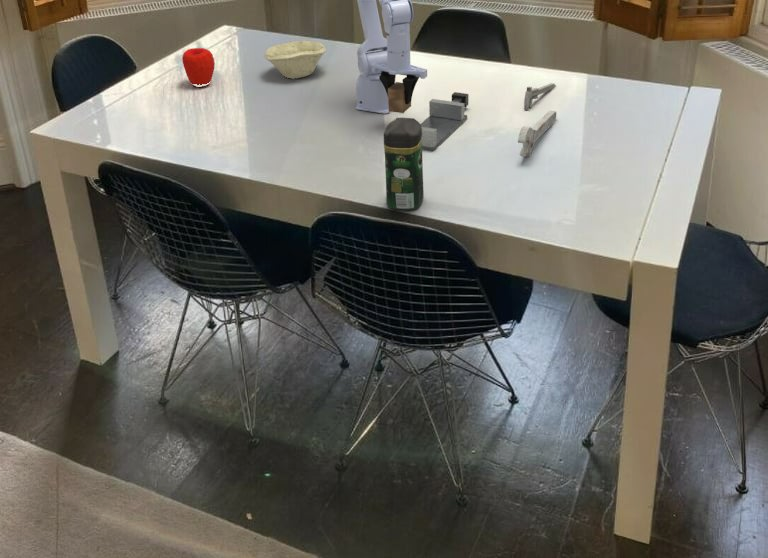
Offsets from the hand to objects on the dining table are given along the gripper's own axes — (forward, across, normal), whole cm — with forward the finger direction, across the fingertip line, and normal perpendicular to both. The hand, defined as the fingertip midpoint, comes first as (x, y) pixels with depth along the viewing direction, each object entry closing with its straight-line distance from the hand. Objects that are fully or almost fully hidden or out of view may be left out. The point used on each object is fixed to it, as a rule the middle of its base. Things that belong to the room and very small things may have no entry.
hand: (400, 101), depth 236 cm
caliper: (+7, +27, +32) cm, 43 cm away
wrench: (+7, +36, +4) cm, 36 cm away
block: (+2, 0, 0) cm, 2 cm away
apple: (+7, -68, +7) cm, 69 cm away
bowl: (+7, -46, +25) cm, 53 cm away
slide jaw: (+6, +10, +12) cm, 17 cm away
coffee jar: (+7, +19, -38) cm, 43 cm away
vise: (+7, +10, 0) cm, 12 cm away
